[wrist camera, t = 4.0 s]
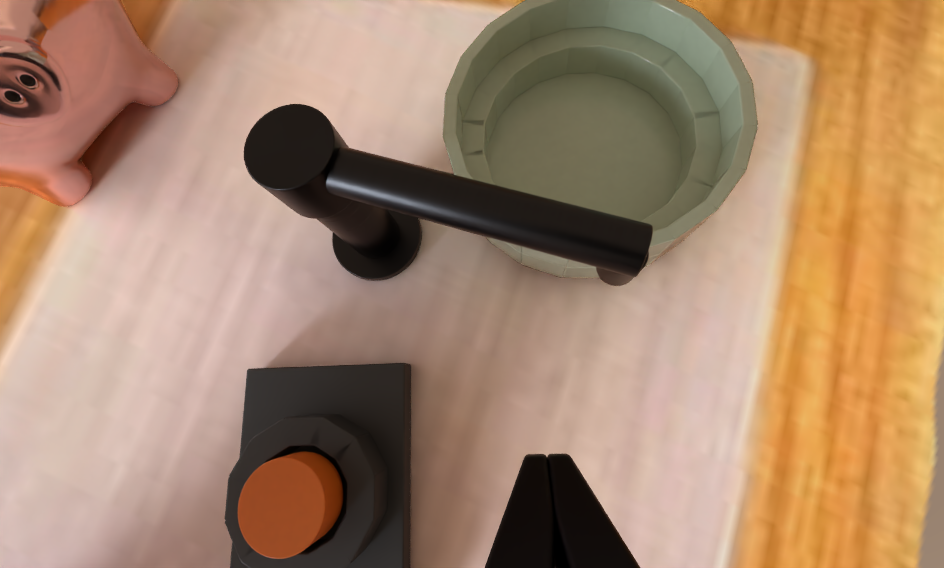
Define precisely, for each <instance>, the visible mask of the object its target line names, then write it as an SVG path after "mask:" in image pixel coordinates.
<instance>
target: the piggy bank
mask: <svg viewBox="0 0 944 568" xmlns="http://www.w3.org/2000/svg"><path fill="white" fill-rule="evenodd" d="M177 87H178V77H177V74H176V73H175V72H174V70H173V69H171V68H170V67H169V66H168V65H167V64H165V63H164V62H163V61H162V60H161V59H159V58H158V57H157V56H156V55H155V54H153V53H152V52H151V51H150V50H149V49H148V48H147V47H146V46H145V45H144V44H143V42H142V41H141V39H140V38H139V36H138V34H137V32H136V30H135V28H134V26H133V24H132V22H131V20H130V17H129V15H128V13H127V11H126V9H125V7H124V5H123V3H122V1H121V0H0V186H4V187H16V188H20V189H23V190H25V191H28V192H30V193H32V194H34V195H37V196H39V197H41V198H43V199H45V200H47V201H49V202H51V203H53V204H55V205H58V206H63V207H67V206H71V205H74V204H76V203H78V202H79V201H80V200H81V199H82V198H83V197H85V195H86V194H87V193H88V191H89V189H90V187H91V184H92V175H91V172H90V171H89V169H88V168H87V167H86V166H85V165H84V164H83V162H82V161H81V157H82V156H83V154H84V153H85V151H86V150H87V149H88V147H89V146H90V145H91V144H92V143H93V141H94V140H95V139H96V138H97V137H98V136H99V134H100V133H101V132H102V131H103V130H104V129H105V128H106V127H107V125H108V124H109V123H110V122H111V121H112V120H113V119H114V118H115V117H116V116H117V115H118V114H119V113H120V112H121V111H122V110H123V109H124V108H125V107H126V106H127V105H128V104H130V103H132V102H137V103H140V104H144V105H147V106H158V105H161V104H163V103H165V102H166V101H168V100H169V99H170V98H171V97H172V96H173V94H174V93H175V91H176V89H177Z"/></svg>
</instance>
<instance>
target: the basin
mask: <svg viewBox="0 0 944 568" xmlns="http://www.w3.org/2000/svg"><path fill="white" fill-rule="evenodd" d="M445 94H446V95H445V105H444V122H443V139H444V142H445V145H446V149H447V152H448V155H449V159H450V162H451V165H452V169H453V172H454V175H458V176H462V177H466V178H470V179H474V180H478V181H482V182H486V183H490V184H494V185H497V186H501V187H505V188H509V189H513V190H517V191H521V192H525V193H529V194H533V195H537V196H541V197H545V198H549V199H553V200H557V201H561V202H565V203H569V204H573V205H577V206H581V207H585V208H589V209H593V210H596V211H600V212H604V213H608V214H612V215H616V216H620V217H624V218H628V219H632V220H636V221H640V222H644V223H648V224H651V225H652V226H653V234H652V240H651V244H650V247H649V258H648V262H647V264H646V265H645V266H647V265H650V264H651V263H653V262H654V261H656V260H657V259H658V258H660V257H661V256H663V255H664V254H666V253H667V252H669V251H670V250H671V249H673V248H674V247H676V246H677V245H679V244H680V243H682V242H683V241H684V240H685V239H686V238H687V237H688V236H689V235H690V234H692V233H693V232H694V231H695V230H696V229H697V228H698V227H699V226H700V225H702V224H703V223H704V222H705V221H706V220H707V219H708V218H709V217H710V216H711V215H713V214H714V213H715V212H716V211H717V210H718V209H719V207H720V206H721V205H722V203H723V202H724V201H725V199H726V198H727V196H728V195H729V194H730V192H731V191H732V190H733V188H734V187H735V185H736V184H737V183H738V181H739V180H740V179H741V177H742V176H743V174H744V173H745V170H746V169H747V165H748V161H749V158H750V154H751V150H752V147H753V143H754V139H755V135H756V132H757V128H758V127H757V125H758V122H757V114H756V105H755V97H754V89H753V83H752V79H751V77H750V76H749V74H748V72H747V70H746V68H745V66H744V64H743V62H742V60H741V58H740V57H739V55H738V53H737V51H736V49H735V47H734V45H733V44H732V42H731V41H730V40H729V39H728V38H727V37H726V36H725V35H724V34H723V33H722V32H721V31H720V30H719V29H718V28H716V27H715V26H714V25H713V24H712V23H711V22H710V21H709V20H708V19H707V18H706V17H705V16H704V15H703V14H702V13H700V12H698V11H697V10H695V9H693V8H691V7H689V6H687V5H685V4H683V3H681V2H679V1H677V0H525V1H523V2H522V3H520V4H518V5H517V6H515V7H514V8H512V9H511V10H509V11H508V12H506V13H505V14H503V15H502V16H500V17H499V18H497V19H496V20H494V21H493V22H491V23H490V24H489V25H487V26H486V28H485V29H484V30H483V31H482V32H481V33H480V35H479V36H478V37H477V38H476V39H475V40H474V42H473V43H472V44H471V45H470V46H469V47H468V49H467V50H466V51H465V52H464V53H463V55H462V57H461V58H460V60H459V62H458V65H457V67H456V69H455V72H454V74H453V77H452V79H451V81H450V84H449V86H448V89H447V91H446V93H445ZM486 238H487V240H489V241H490V243H492V244H493V245H495V246H496V247H497V248H499V249H500V250H502V251H503V252H505V253H506V254H507V255H509V256H510V257H512V258H513V259H514V260H516V261H517V262H519V263H520V264H522V265H524V266H527V267H530V268H533V269H536V270H539V271H543V272H546V273H549V274H552V275H555V276H558V277H564V278H600V277H599V276H598V274H597V271H596V267H594V266H590V265H587V264H583V263H580V262H576V261H572V260H569V259H565V258H561V257H558V256H554V255H551V254H547V253H543V252H540V251H536V250H532V249H529V248H525V247H522V246H518V245H514V244H511V243H507V242H503V241H500V240H496V239H492V238H489V237H486Z"/></svg>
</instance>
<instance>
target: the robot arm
mask: <svg viewBox="0 0 944 568" xmlns="http://www.w3.org/2000/svg"><path fill="white" fill-rule="evenodd" d="M485 568H640V567H639V565H638V563H637V562H636V560H635V559H634V557H633V555H632V554H631V552H630V551H629V549H628V547H627V546H626V544H625V543H624V541H623V539H622V538H621V536H620V535H619V533H618V531H617V530H616V528H615V527H614V525H613V523H612V522H611V520H610V519H609V517H608V515H607V514H606V512H605V511H604V509H603V507H602V506H601V504H600V503H599V501H598V499H597V498H596V496H595V495H594V493H593V491H592V490H591V488H590V487H589V485H588V483H587V482H586V480H585V479H584V477H583V475H582V474H581V472H580V471H579V469H578V467H577V466H576V464H575V463H574V461H573V459H572V458H571V457H570V456H569V455H568V454H549V455H548V457H546V455H544V454H528V455H526V456H525V457H524V460H523V462H522V465H521V468H520V471H519V473H518V476H517V479H516V482H515V485H514V487H513V490H512V493H511V496H510V498H509V501H508V504H507V507H506V510H505V512H504V515H503V518H502V521H501V524H500V526H499V529H498V532H497V535H496V537H495V540H494V543H493V546H492V549H491V551H490V554H489V557H488V560H487V563H486V565H485Z"/></svg>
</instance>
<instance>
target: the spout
mask: <svg viewBox="0 0 944 568" xmlns="http://www.w3.org/2000/svg"><path fill="white" fill-rule="evenodd" d="M244 161H245V165H246V168H247V170H248V172H249V174H250V175H251V177H252V178H253V179H254V180H255V181H256V182H257V183H258V184H260V185H261V186H262V187H264V188H265V189H266V190H268V191H269V192H270V193H272V194H273V195H274V196H275V197H277V198H278V199H279V200H281V201H282V202H283V203H285V204H286V205H287V206H289V207H290V208H291V209H292V210H294V211H295V212H296V213H298V214H300V215H302V216H304V217H308V218H315V219H318V218H326V217H330V216H333V215H335V214H337V213H339V212H341V211H342V210H344V209H345V208H346V207H347V206H348V205H349V204H350V203H351V202H352V201H353V200H355V201H358V202H362V203H365V204H369V205H373V206H376V207H380V208H384V209H387V210H391V211H395V212H398V213H402V214H405V215H409V216H413V217H416V218H420V219H424V220H427V221H431V222H434V223H438V224H442V225H445V226H449V227H453V228H456V229H460V230H463V231H467V232H471V233H474V234H478V235H482V236H485V237H489V238H492V239H496V240H500V241H503V242H507V243H511V244H514V245H518V246H522V247H525V248H529V249H532V250H536V251H540V252H543V253H547V254H551V255H554V256H558V257H561V258H565V259H569V260H572V261H576V262H580V263H583V264H587V265H590V266H594V267H596V271H597V274H598V276H599V277H600V278H601V279H602V280H603V281H604V282H605V283H607V284H609V285H613V286H621V285H624V284H626V283H628V282H629V281H631V280H632V279H633V278H634V277H636V276H637V275H638V274H639V272H640V271H641V270H642V269H643V268H644V267H645V265H646V264H647V262H648V258H649V247H650V244H651V240H652V234H653V226H652V225H651V224H648V223H644V222H640V221H636V220H632V219H628V218H624V217H620V216H616V215H612V214H608V213H604V212H600V211H596V210H593V209H589V208H585V207H581V206H577V205H573V204H569V203H565V202H561V201H557V200H553V199H549V198H545V197H541V196H537V195H533V194H529V193H525V192H521V191H517V190H513V189H509V188H505V187H501V186H497V185H494V184H490V183H486V182H482V181H478V180H474V179H470V178H466V177H462V176H458V175H454V174H450V173H446V172H442V171H438V170H434V169H430V168H426V167H422V166H418V165H414V164H410V163H406V162H402V161H398V160H395V159H391V158H387V157H383V156H379V155H375V154H371V153H367V152H363V151H359V150H355V149H351V148H349V147H348V145H347V144H346V143H345V141H344V140H343V139H342V137H341V136H340V135H339V133H338V132H337V131H336V129H335V128H334V126H333V125H332V124H331V122H330V121H329V120H328V118H327V117H326V116H325V115H324V114H323V113H322V112H320V111H319V110H317V109H315V108H313V107H310V106H307V105H302V104H290V105H285V106H281V107H278V108H276V109H274V110H272V111H270V112H268V113H267V114H265V115H264V116H263V117H262V118H261V119H260V120H258V121H257V123H256V124H255V125H254V126H253V128H252V129H251V131H250V133H249V134H248V137H247V139H246V142H245V146H244Z"/></svg>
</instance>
